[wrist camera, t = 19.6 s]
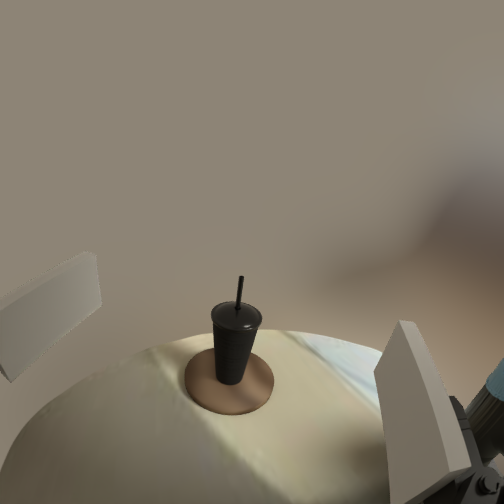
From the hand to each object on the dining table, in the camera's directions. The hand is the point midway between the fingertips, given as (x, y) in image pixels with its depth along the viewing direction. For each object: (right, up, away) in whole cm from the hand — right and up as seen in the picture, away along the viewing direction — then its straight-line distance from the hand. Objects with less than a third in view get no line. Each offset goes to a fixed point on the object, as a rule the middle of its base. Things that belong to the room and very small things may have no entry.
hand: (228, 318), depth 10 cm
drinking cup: (-3, -20, +34) cm, 40 cm away
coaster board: (-3, -21, +35) cm, 41 cm away
